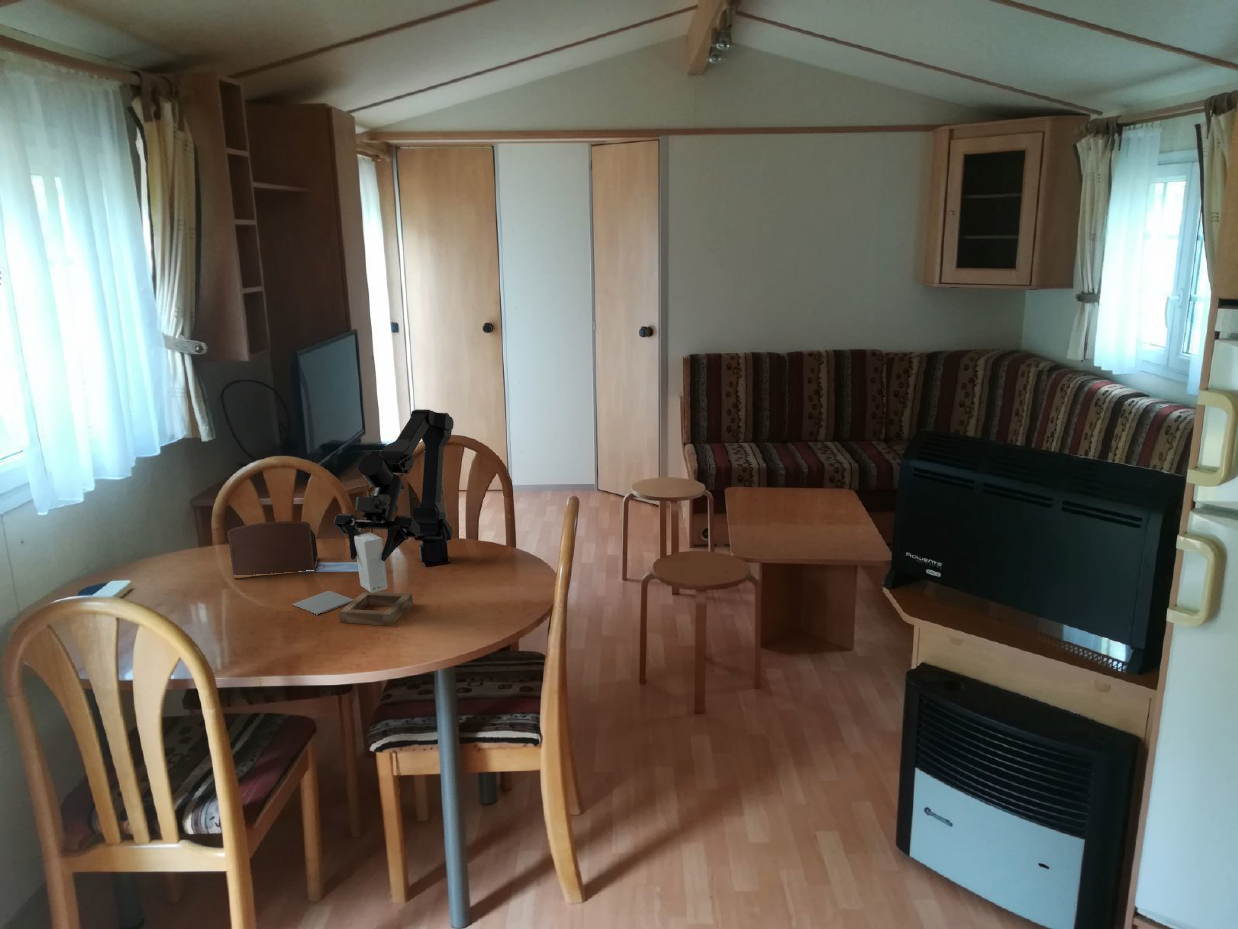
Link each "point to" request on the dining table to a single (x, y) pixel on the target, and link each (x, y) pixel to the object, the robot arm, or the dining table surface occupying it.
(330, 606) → the grey mat
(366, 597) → the walnut collar
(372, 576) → the skincare box
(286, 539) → the letter holder
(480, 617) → the dining table surface
